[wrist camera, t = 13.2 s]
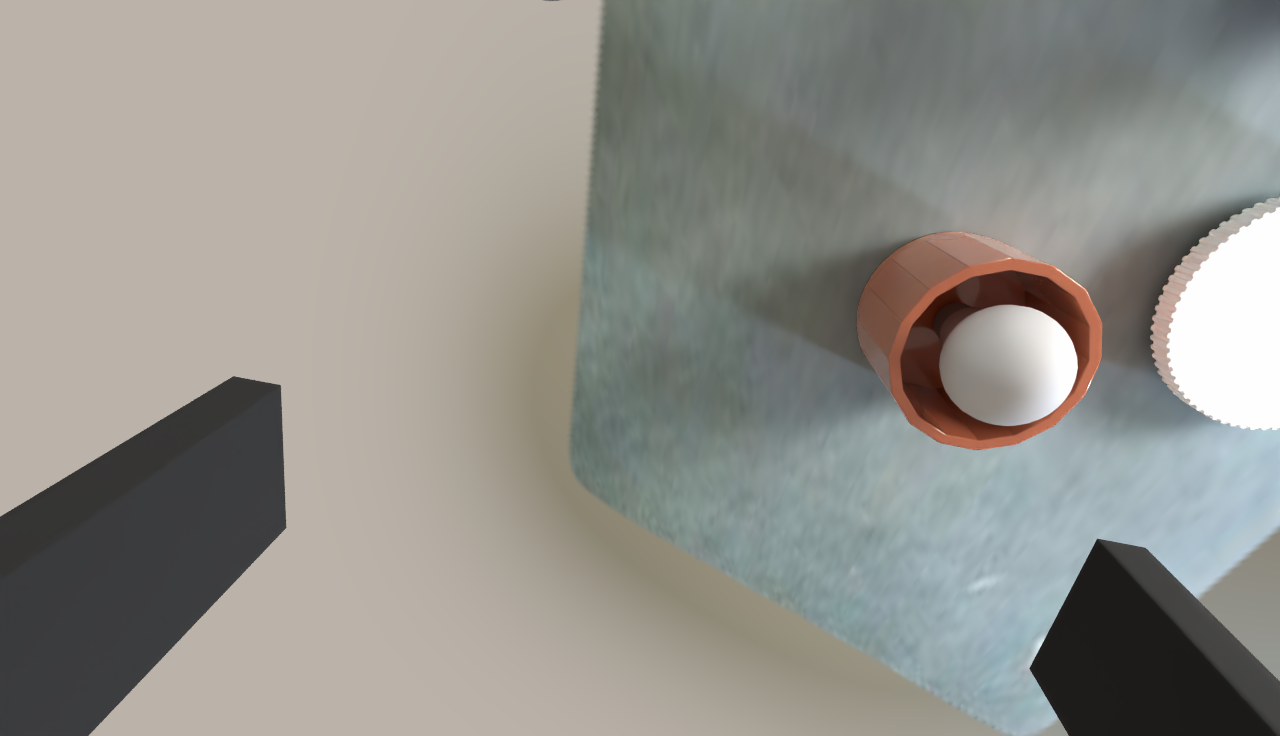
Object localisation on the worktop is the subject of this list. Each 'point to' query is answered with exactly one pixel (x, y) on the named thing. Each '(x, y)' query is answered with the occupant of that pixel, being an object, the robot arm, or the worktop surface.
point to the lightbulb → (1004, 362)
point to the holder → (980, 278)
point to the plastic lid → (1226, 322)
